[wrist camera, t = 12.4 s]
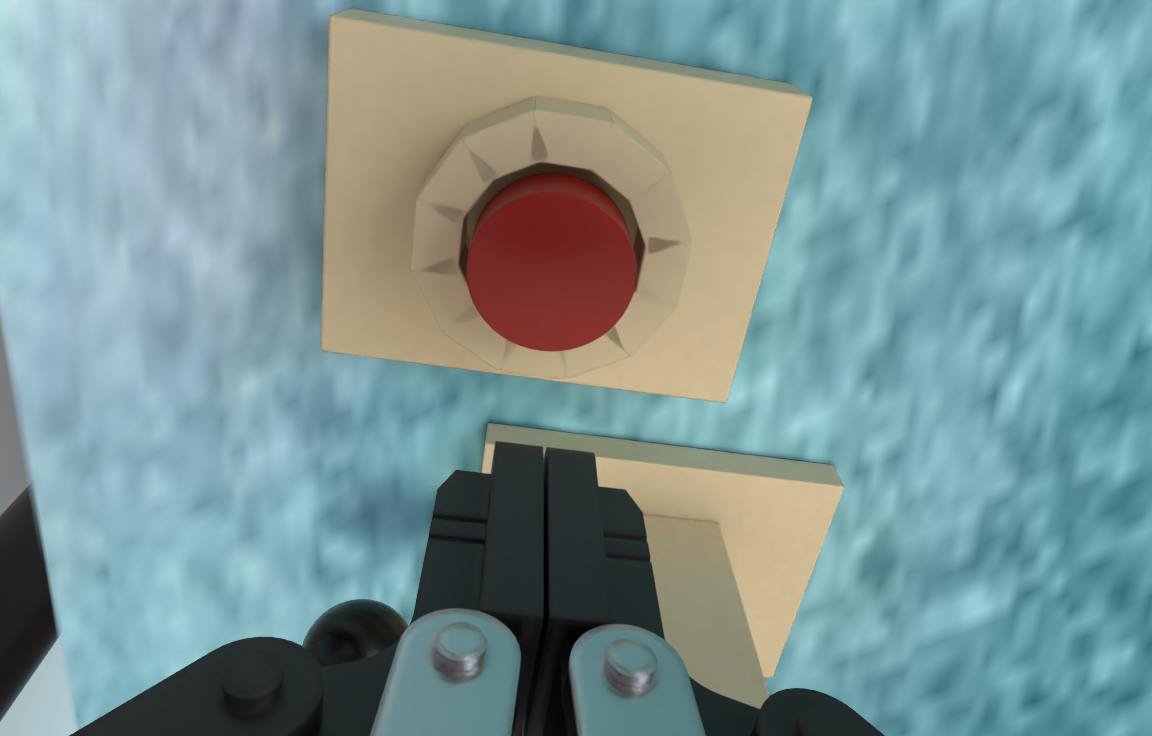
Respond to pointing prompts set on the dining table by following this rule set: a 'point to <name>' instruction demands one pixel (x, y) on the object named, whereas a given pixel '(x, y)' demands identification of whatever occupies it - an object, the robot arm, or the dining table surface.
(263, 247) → the dining table surface
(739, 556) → the lever base
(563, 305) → the button
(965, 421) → the dining table surface
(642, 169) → the button block
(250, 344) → the dining table surface
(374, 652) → the black lever
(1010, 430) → the dining table surface
